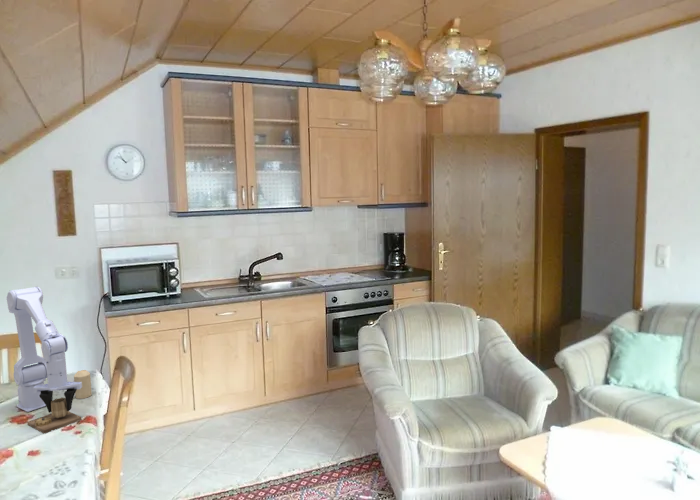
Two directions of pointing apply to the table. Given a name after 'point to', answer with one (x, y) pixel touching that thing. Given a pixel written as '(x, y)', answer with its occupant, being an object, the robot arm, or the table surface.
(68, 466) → the table surface
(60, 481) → the table surface
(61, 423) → the gear board
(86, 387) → the candle
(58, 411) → the maple gear
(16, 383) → the robot arm
